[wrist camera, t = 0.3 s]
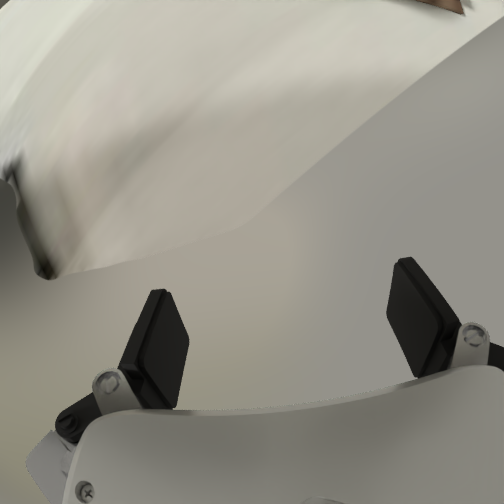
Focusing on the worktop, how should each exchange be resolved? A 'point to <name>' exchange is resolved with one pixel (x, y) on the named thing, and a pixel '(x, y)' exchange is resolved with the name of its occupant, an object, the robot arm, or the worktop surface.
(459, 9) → the stand
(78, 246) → the worktop surface
